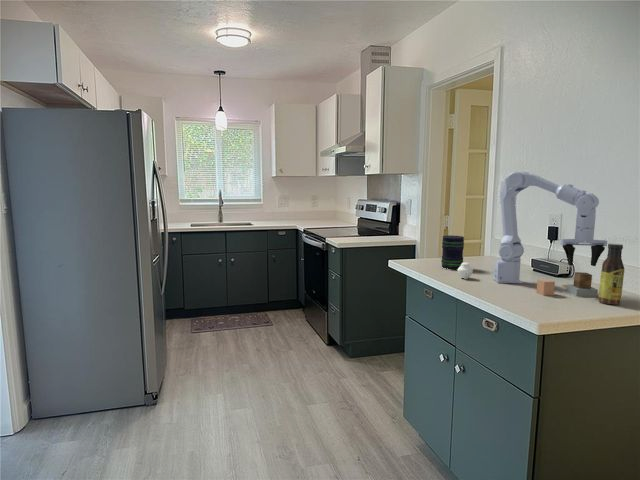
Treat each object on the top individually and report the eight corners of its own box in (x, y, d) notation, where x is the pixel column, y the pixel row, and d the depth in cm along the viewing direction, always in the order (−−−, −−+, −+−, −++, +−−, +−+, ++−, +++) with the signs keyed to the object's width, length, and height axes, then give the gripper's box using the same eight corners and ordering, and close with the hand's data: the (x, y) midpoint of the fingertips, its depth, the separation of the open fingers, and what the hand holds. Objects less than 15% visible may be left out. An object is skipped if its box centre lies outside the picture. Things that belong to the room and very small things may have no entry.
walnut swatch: (568, 288, 159) (568, 287, 159) (562, 285, 164) (562, 284, 164) (582, 289, 159) (582, 288, 159) (576, 286, 163) (576, 285, 163)
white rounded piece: (467, 280, 173) (468, 263, 172) (454, 278, 177) (455, 261, 176) (475, 278, 177) (476, 262, 176) (462, 276, 181) (462, 260, 180)
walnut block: (578, 288, 149) (580, 274, 149) (573, 285, 153) (574, 272, 153) (590, 288, 149) (592, 275, 148) (585, 286, 153) (586, 272, 152)
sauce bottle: (613, 306, 136) (619, 245, 134) (593, 301, 142) (599, 243, 139) (625, 304, 139) (631, 244, 137) (605, 299, 145) (610, 242, 142)
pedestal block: (576, 297, 149) (576, 289, 148) (566, 292, 156) (567, 284, 155) (597, 298, 148) (597, 289, 148) (586, 293, 155) (587, 285, 155)
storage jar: (465, 270, 194) (467, 238, 192) (444, 270, 194) (445, 238, 192) (459, 266, 204) (460, 235, 202) (438, 266, 204) (439, 235, 202)
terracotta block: (543, 295, 150) (544, 282, 149) (536, 292, 154) (537, 279, 153) (553, 295, 150) (554, 281, 149) (546, 292, 154) (547, 279, 153)
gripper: (567, 228, 147) (564, 266, 149) (613, 229, 145) (609, 268, 146) (559, 226, 154) (556, 263, 156) (602, 227, 152) (599, 264, 153)
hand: (581, 265), depth 152 cm, fingers open, 7 cm apart
